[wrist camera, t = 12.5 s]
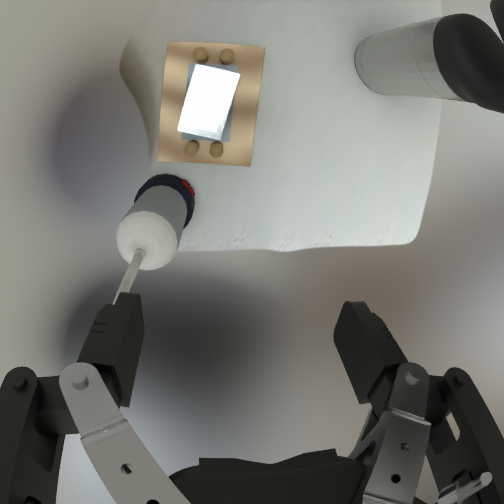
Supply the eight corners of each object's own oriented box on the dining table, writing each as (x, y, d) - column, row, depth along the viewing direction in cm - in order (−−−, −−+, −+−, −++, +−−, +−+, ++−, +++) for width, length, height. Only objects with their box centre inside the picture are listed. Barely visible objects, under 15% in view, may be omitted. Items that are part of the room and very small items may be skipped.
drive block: (238, 77, 31) (240, 73, 27) (220, 136, 34) (220, 140, 31) (198, 68, 30) (195, 63, 26) (181, 128, 33) (176, 130, 30)
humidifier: (203, 184, 39) (181, 298, 17) (184, 236, 42) (156, 377, 20) (146, 165, 36) (56, 257, 14) (132, 219, 40) (58, 345, 18)
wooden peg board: (169, 43, 29) (163, 35, 25) (263, 49, 30) (269, 42, 26) (159, 159, 36) (151, 166, 32) (249, 164, 38) (253, 172, 34)
